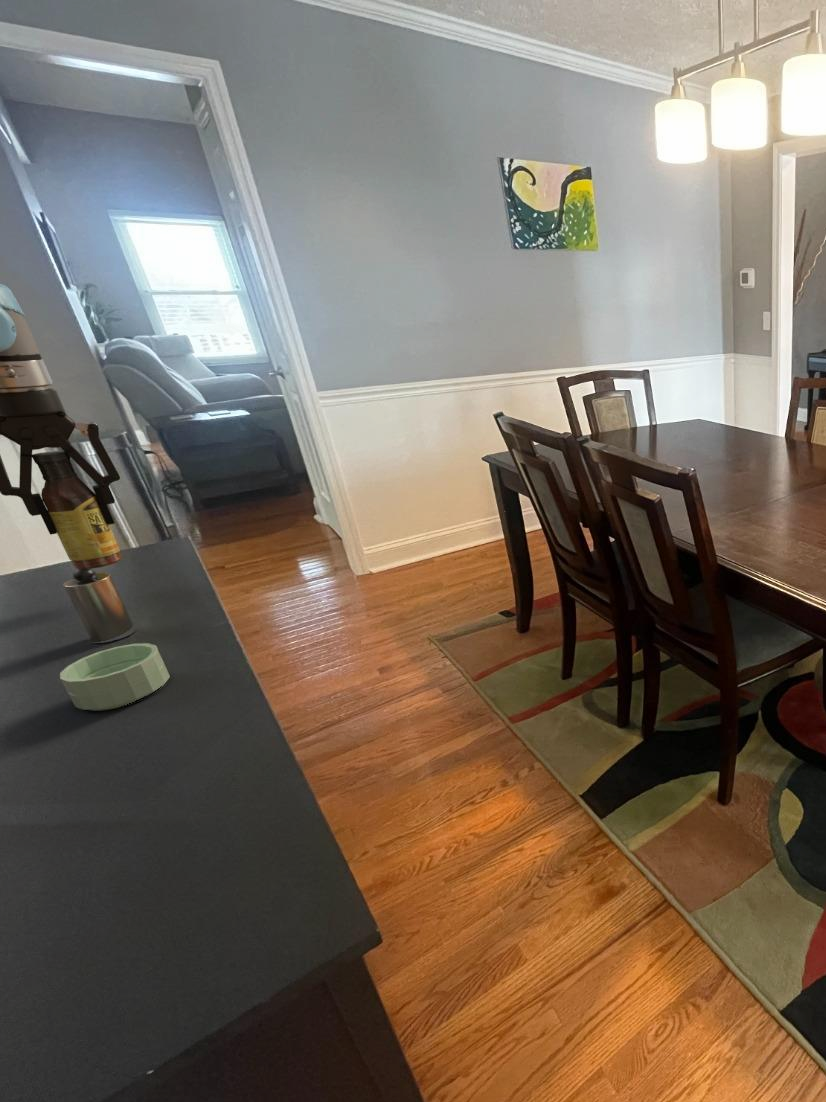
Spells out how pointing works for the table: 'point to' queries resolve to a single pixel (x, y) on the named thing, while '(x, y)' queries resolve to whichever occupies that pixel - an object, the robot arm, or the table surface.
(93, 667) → the bowl
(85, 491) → the sauce bottle
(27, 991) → the table surface
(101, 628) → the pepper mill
